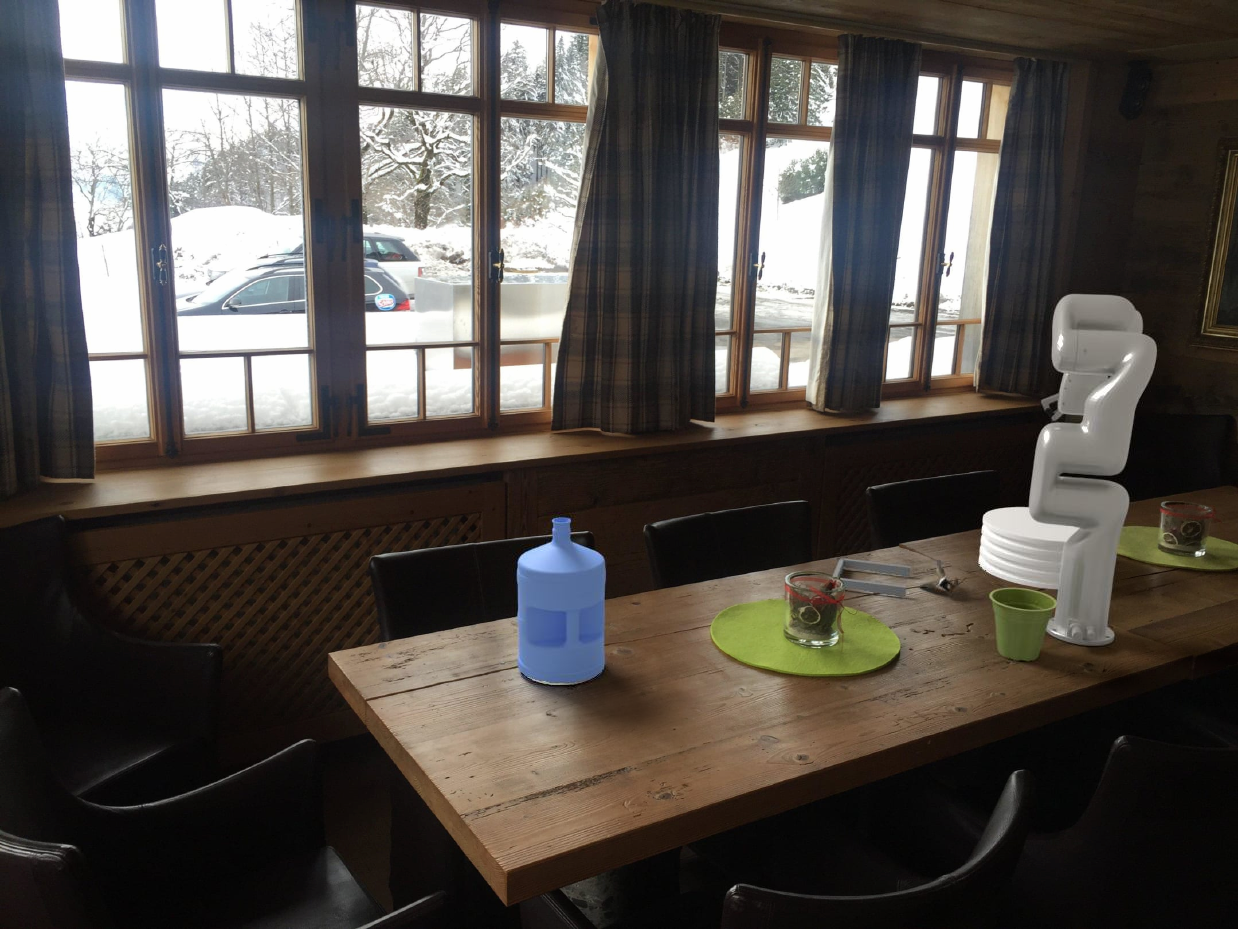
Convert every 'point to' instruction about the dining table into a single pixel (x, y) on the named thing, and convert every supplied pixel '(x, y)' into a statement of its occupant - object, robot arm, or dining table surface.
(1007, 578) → the plate stack
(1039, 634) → the plant pot
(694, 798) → the dining table surface
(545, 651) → the water jug
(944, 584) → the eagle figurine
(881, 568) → the gray frame
